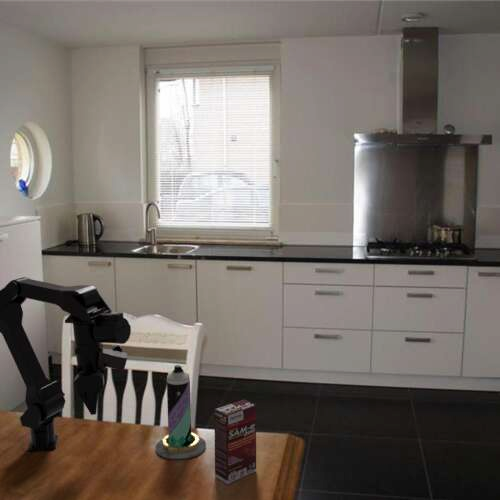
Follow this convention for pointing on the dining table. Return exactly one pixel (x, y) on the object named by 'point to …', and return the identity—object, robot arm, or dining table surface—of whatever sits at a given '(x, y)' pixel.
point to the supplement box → (235, 441)
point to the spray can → (179, 407)
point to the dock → (181, 448)
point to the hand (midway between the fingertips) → (94, 407)
